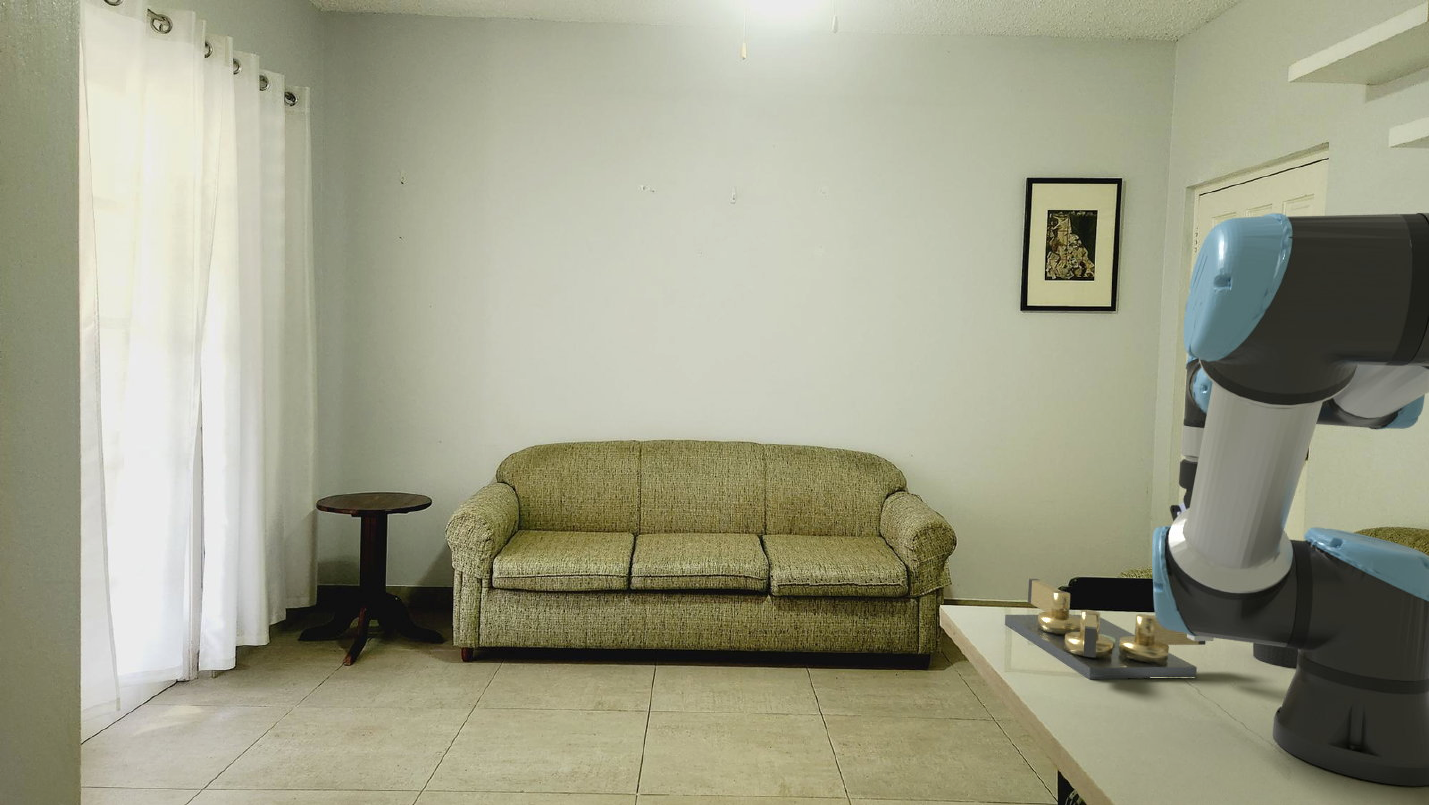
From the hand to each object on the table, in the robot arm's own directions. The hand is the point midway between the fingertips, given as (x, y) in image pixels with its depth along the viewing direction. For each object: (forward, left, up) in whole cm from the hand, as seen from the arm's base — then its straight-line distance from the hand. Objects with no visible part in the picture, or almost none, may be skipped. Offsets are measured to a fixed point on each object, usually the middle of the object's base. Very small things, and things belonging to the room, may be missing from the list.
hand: (1200, 638), depth 120 cm
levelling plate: (+12, +8, -5) cm, 15 cm away
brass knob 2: (+3, +14, -3) cm, 14 cm away
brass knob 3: (+4, +3, -3) cm, 6 cm away
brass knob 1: (+19, +11, -3) cm, 22 cm away
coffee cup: (+7, -18, -5) cm, 20 cm away
